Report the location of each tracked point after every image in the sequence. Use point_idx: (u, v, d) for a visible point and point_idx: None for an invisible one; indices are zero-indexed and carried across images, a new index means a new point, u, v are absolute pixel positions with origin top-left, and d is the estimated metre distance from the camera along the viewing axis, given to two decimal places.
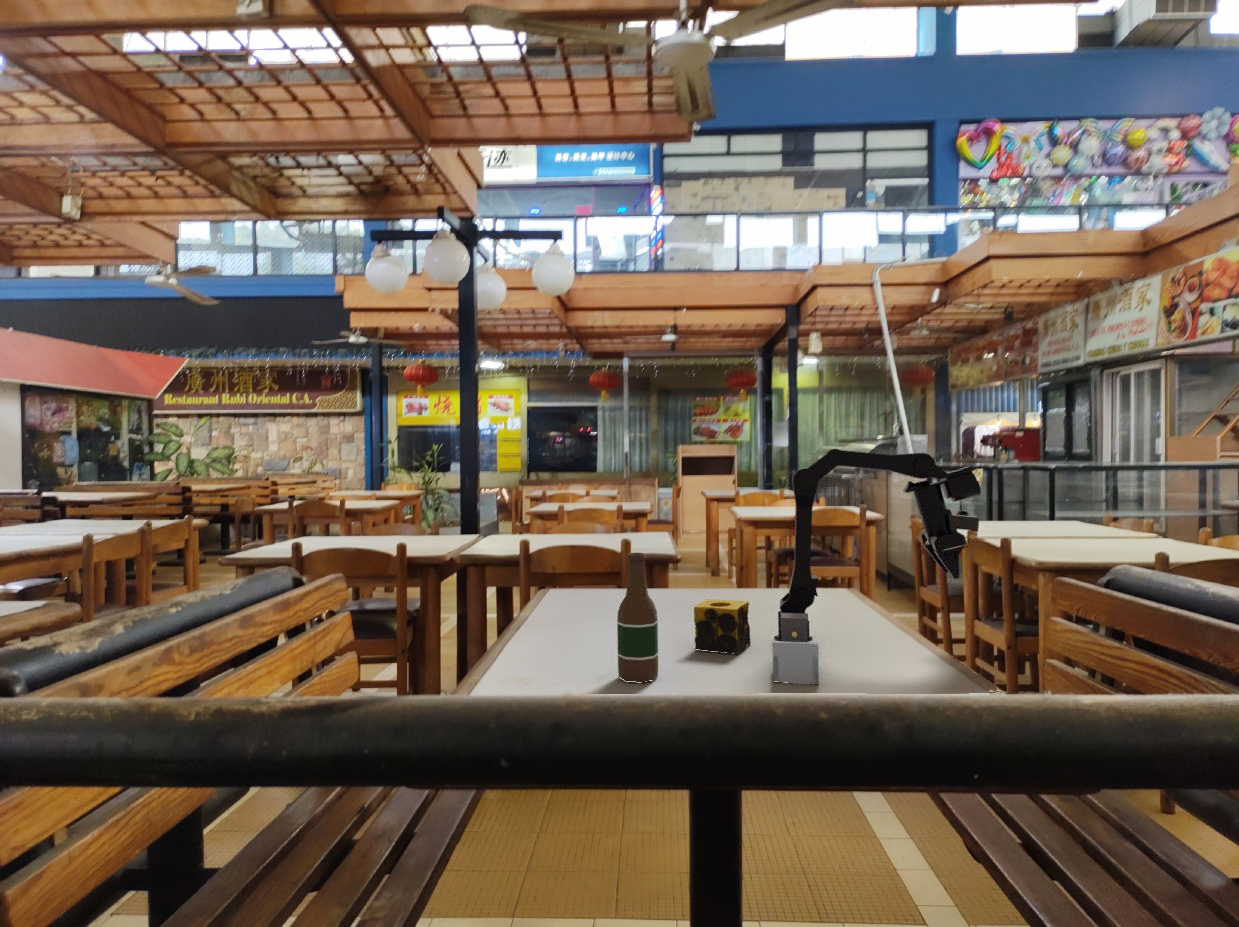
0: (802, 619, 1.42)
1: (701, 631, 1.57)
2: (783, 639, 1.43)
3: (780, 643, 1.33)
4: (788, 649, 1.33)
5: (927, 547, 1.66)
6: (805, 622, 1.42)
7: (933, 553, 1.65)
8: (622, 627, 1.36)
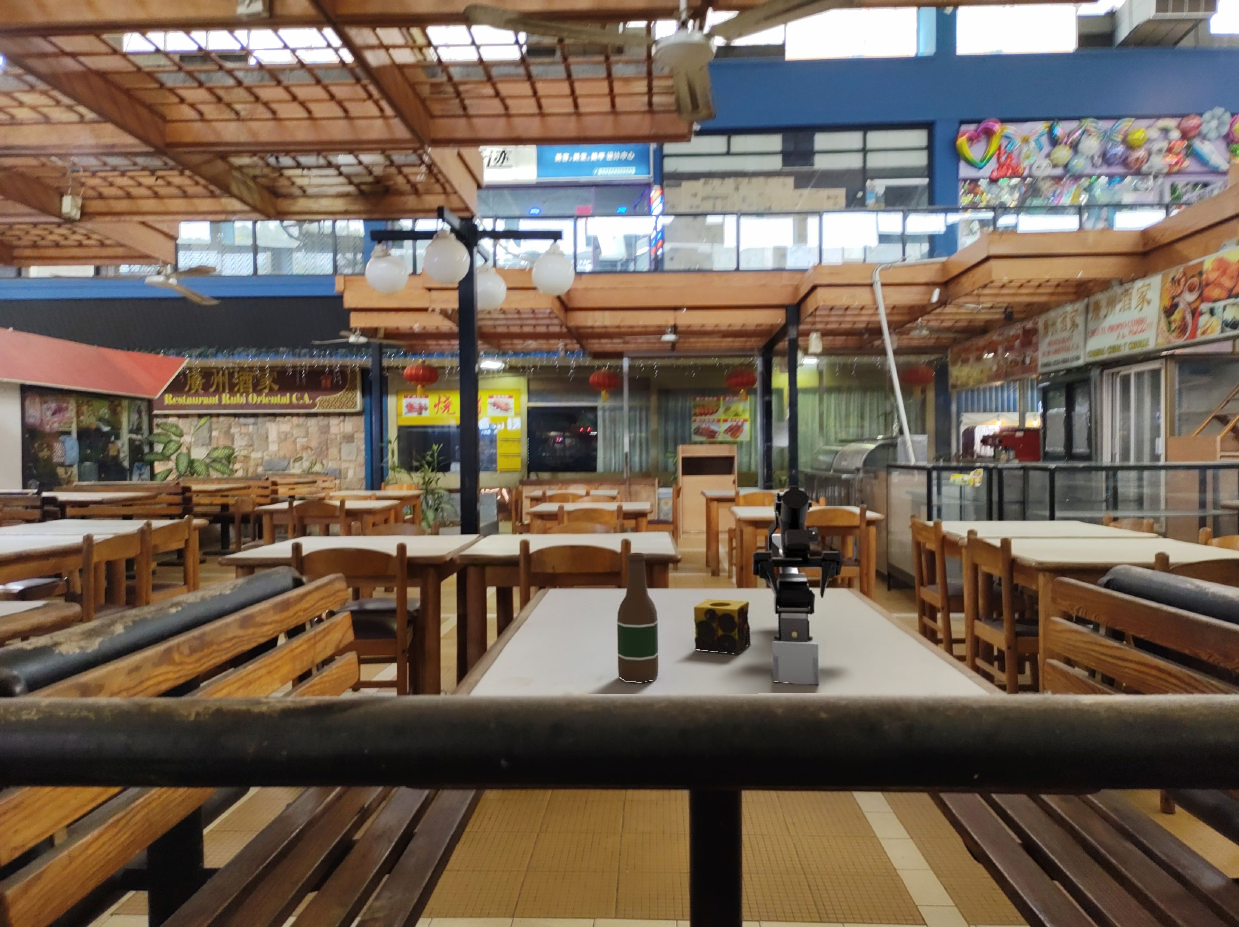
0: (802, 619, 1.42)
1: (701, 631, 1.57)
2: (783, 639, 1.43)
3: (780, 643, 1.33)
4: (788, 649, 1.33)
5: (820, 578, 1.56)
6: (805, 622, 1.42)
7: (820, 582, 1.54)
8: (622, 627, 1.36)
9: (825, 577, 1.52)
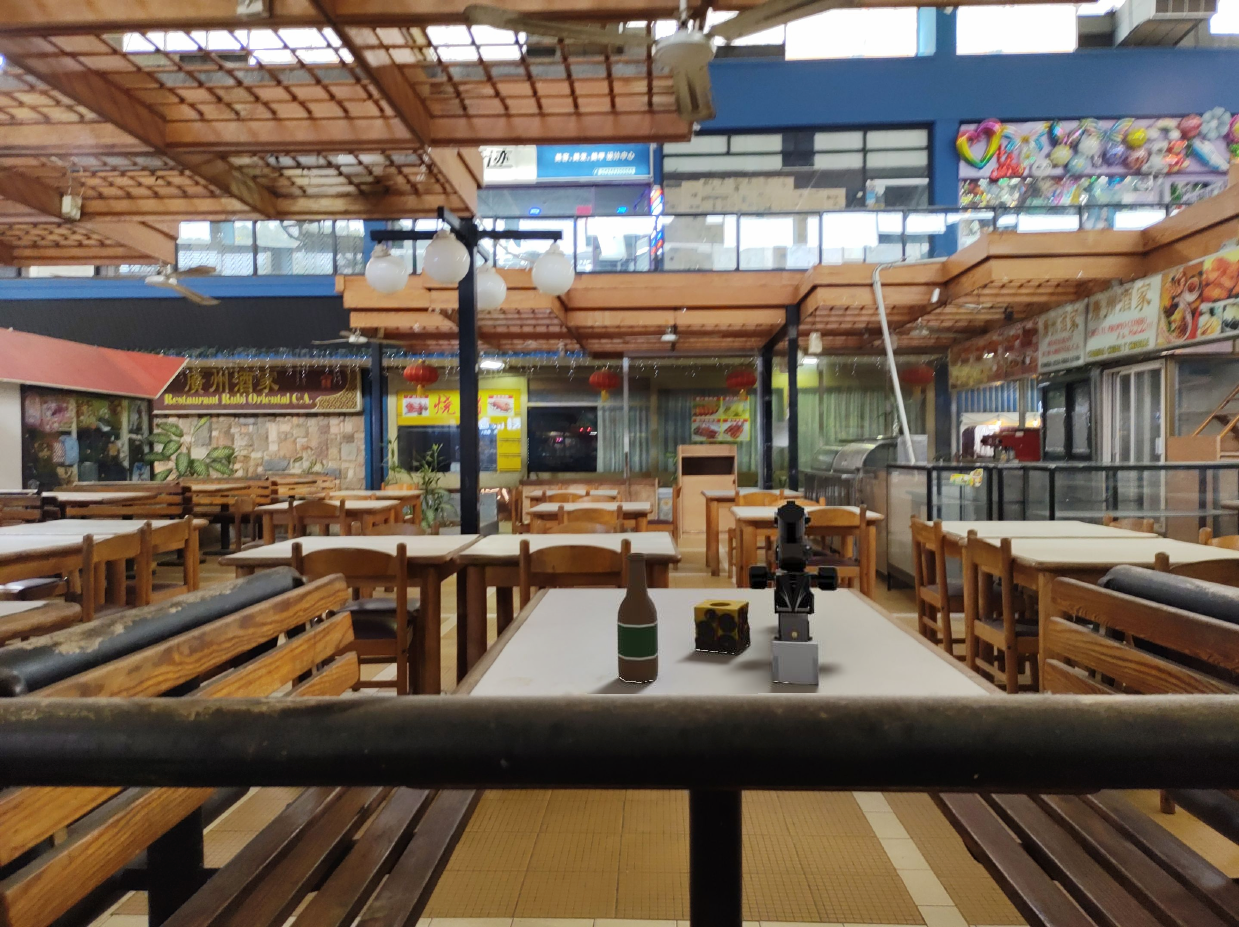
0: (802, 619, 1.42)
1: (701, 631, 1.57)
2: (783, 639, 1.43)
3: (780, 643, 1.33)
4: (788, 649, 1.33)
5: None
6: (805, 622, 1.42)
7: None
8: (622, 627, 1.36)
9: (798, 591, 1.53)
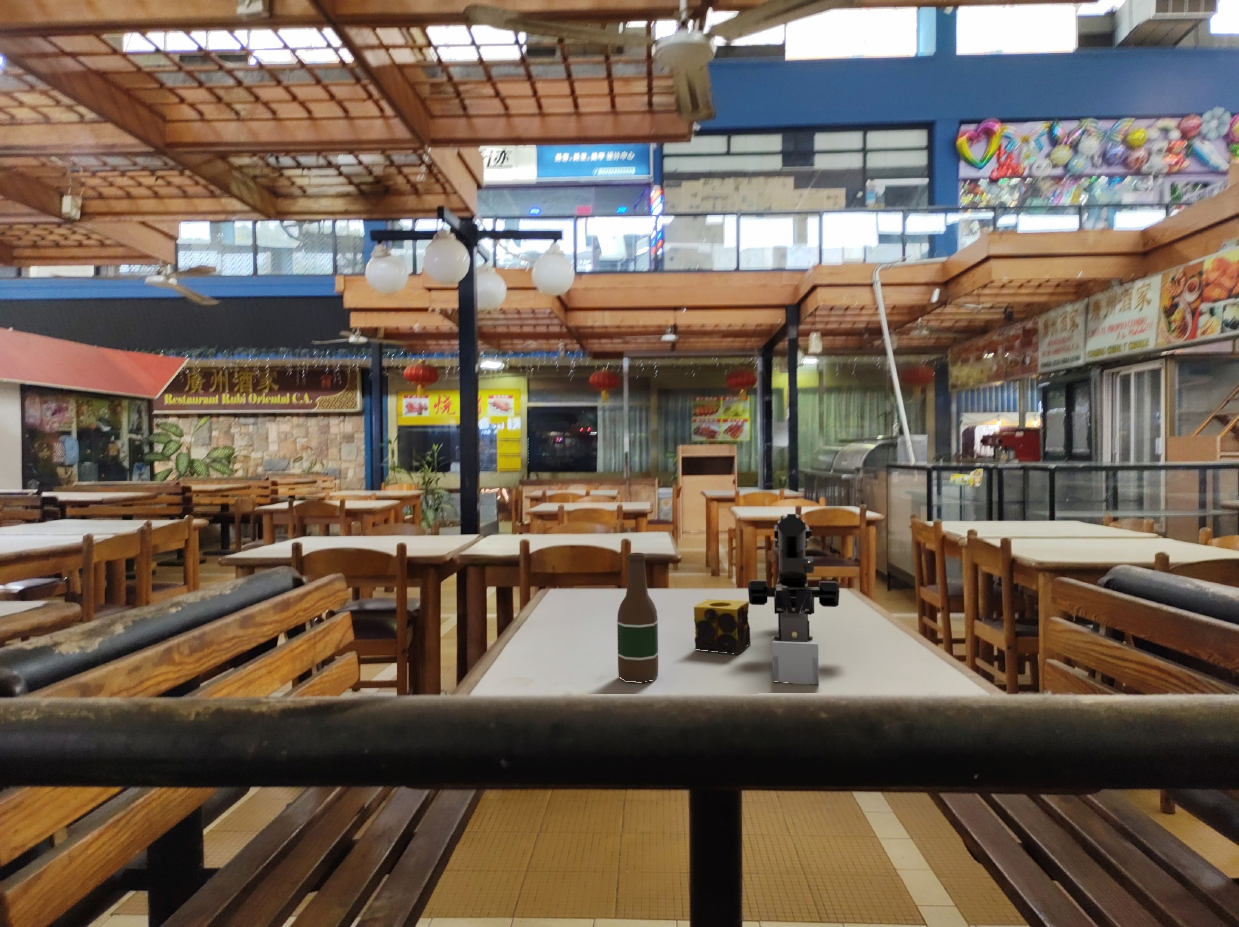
0: (802, 619, 1.42)
1: (701, 631, 1.58)
2: (783, 639, 1.43)
3: (780, 643, 1.33)
4: (788, 649, 1.33)
5: None
6: (805, 622, 1.42)
7: None
8: (622, 627, 1.36)
9: (799, 607, 1.49)
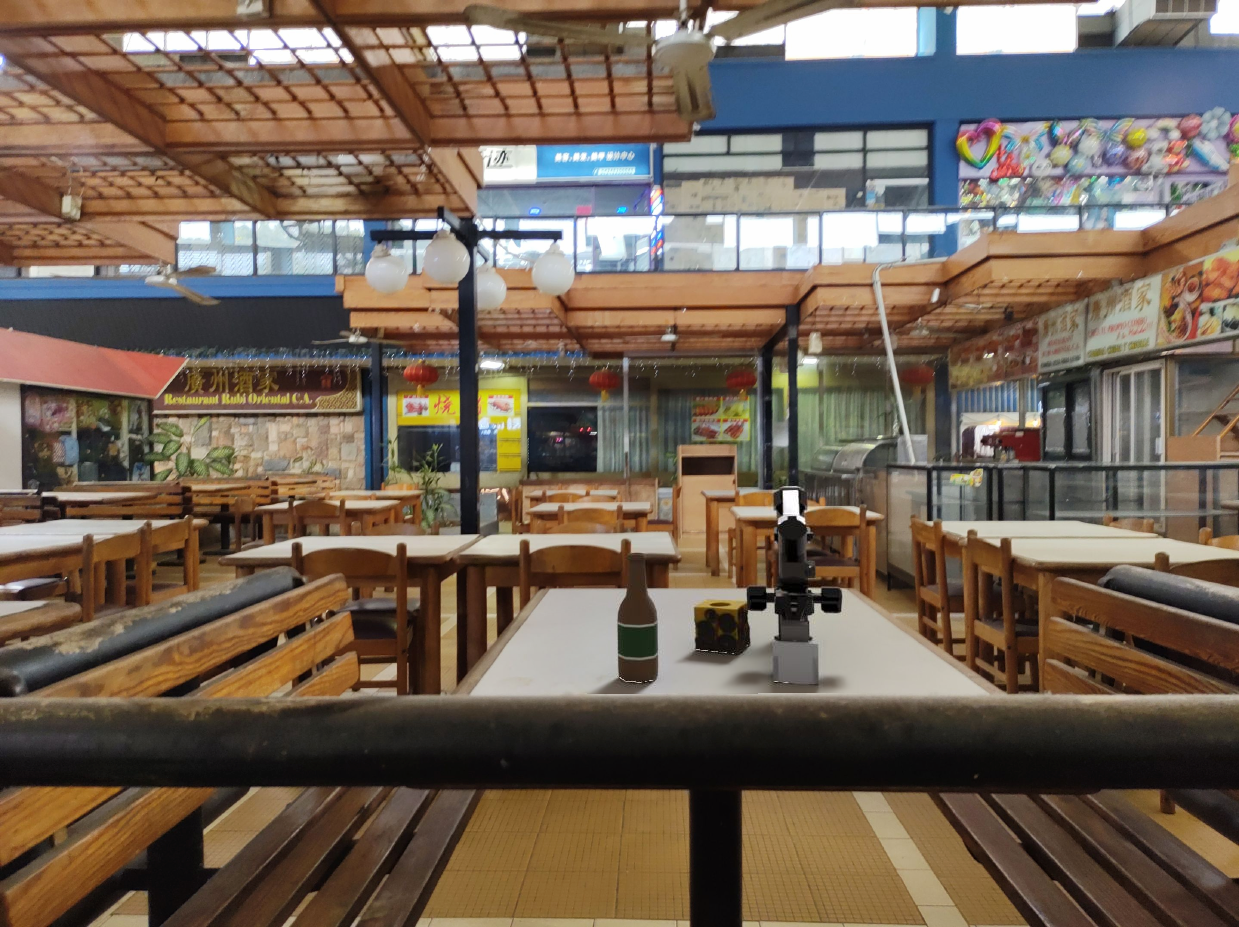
0: (803, 627, 1.35)
1: (701, 631, 1.58)
2: None
3: (780, 643, 1.33)
4: (788, 649, 1.33)
5: None
6: (806, 630, 1.35)
7: None
8: (622, 627, 1.36)
9: (800, 614, 1.42)
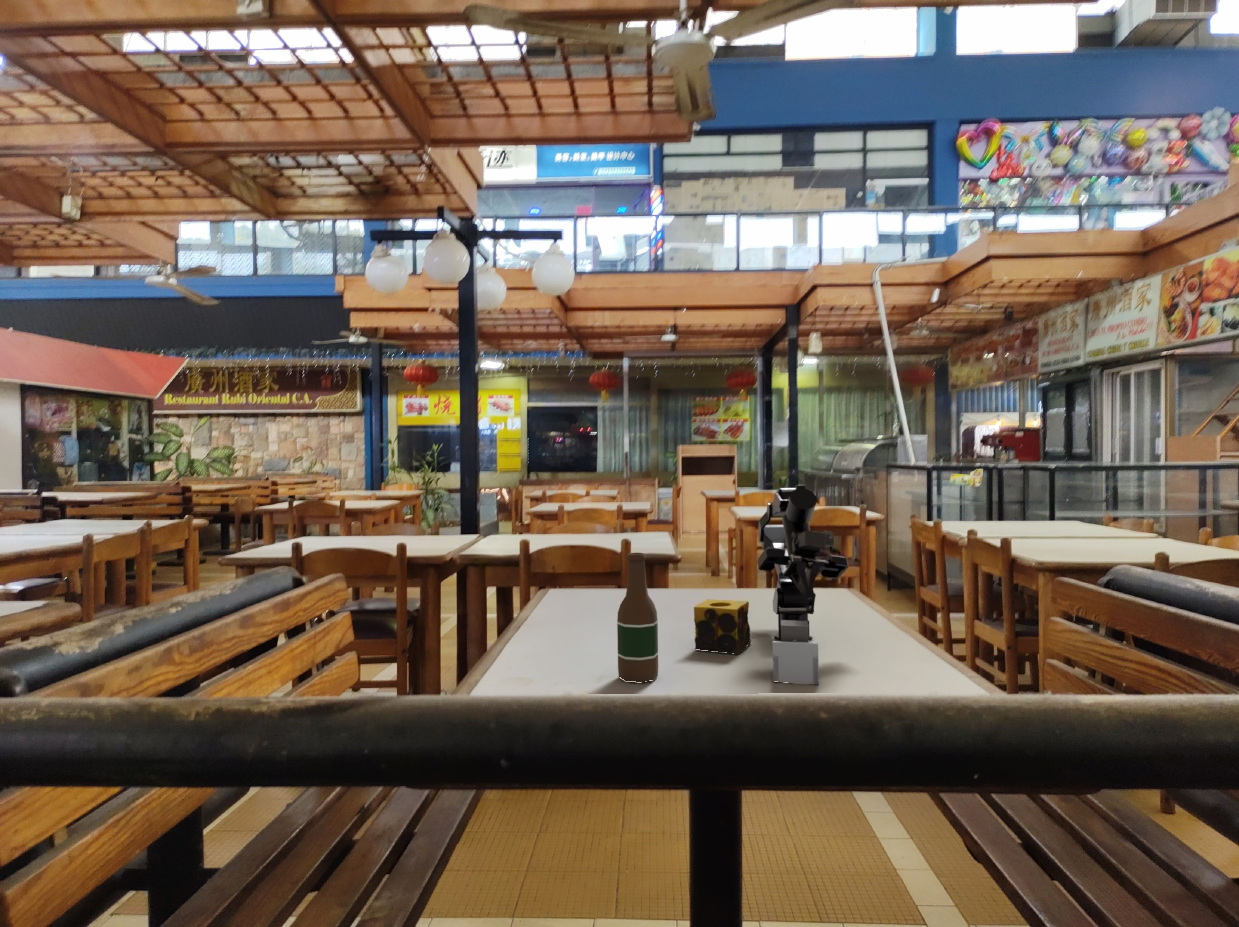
0: (803, 627, 1.35)
1: (701, 631, 1.58)
2: None
3: (780, 643, 1.33)
4: (788, 649, 1.33)
5: None
6: (806, 630, 1.35)
7: None
8: (622, 627, 1.36)
9: (813, 579, 1.52)
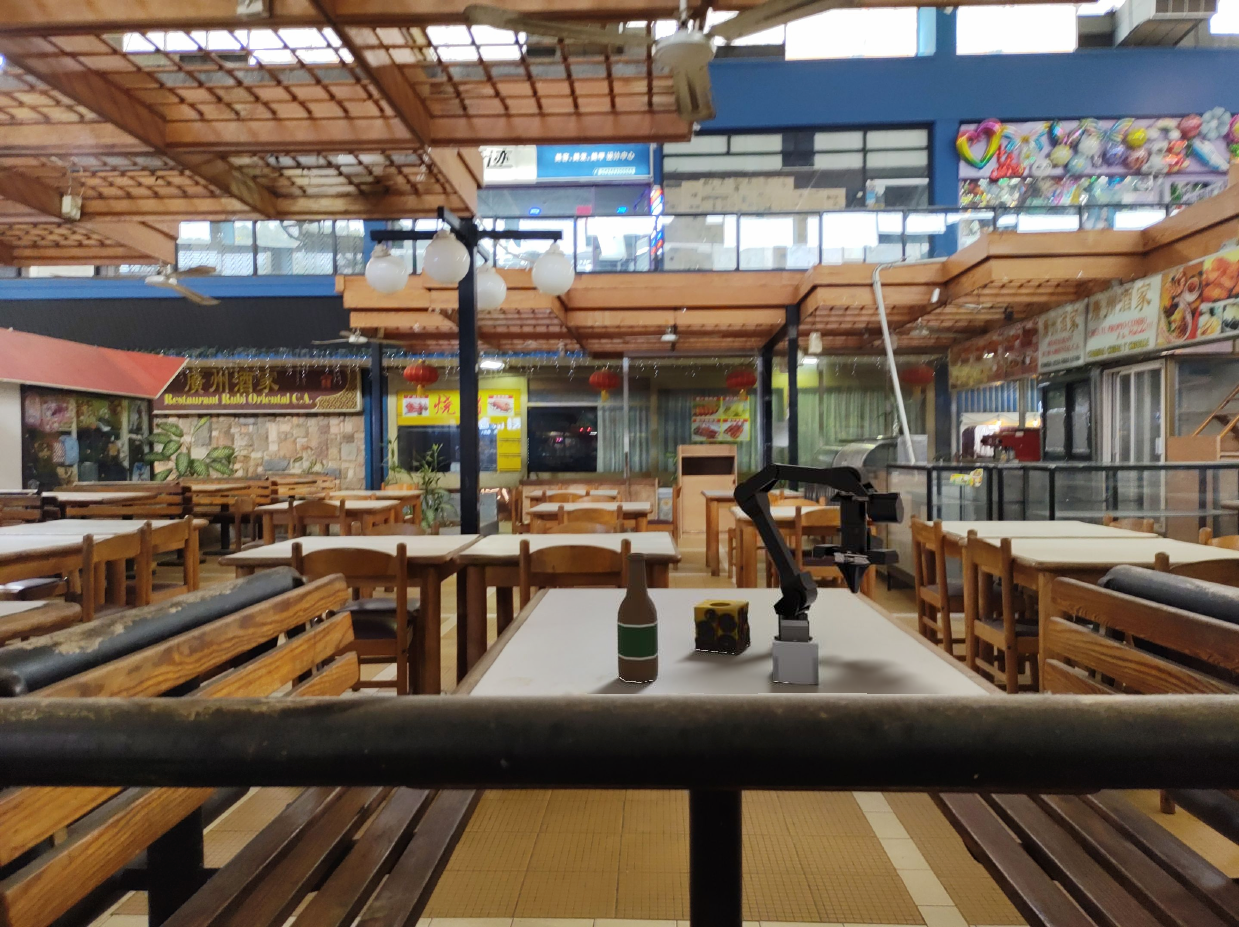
0: (803, 627, 1.35)
1: (701, 631, 1.58)
2: None
3: (780, 643, 1.33)
4: (788, 649, 1.33)
5: (844, 565, 1.58)
6: (806, 630, 1.35)
7: (847, 572, 1.58)
8: (622, 627, 1.36)
9: None
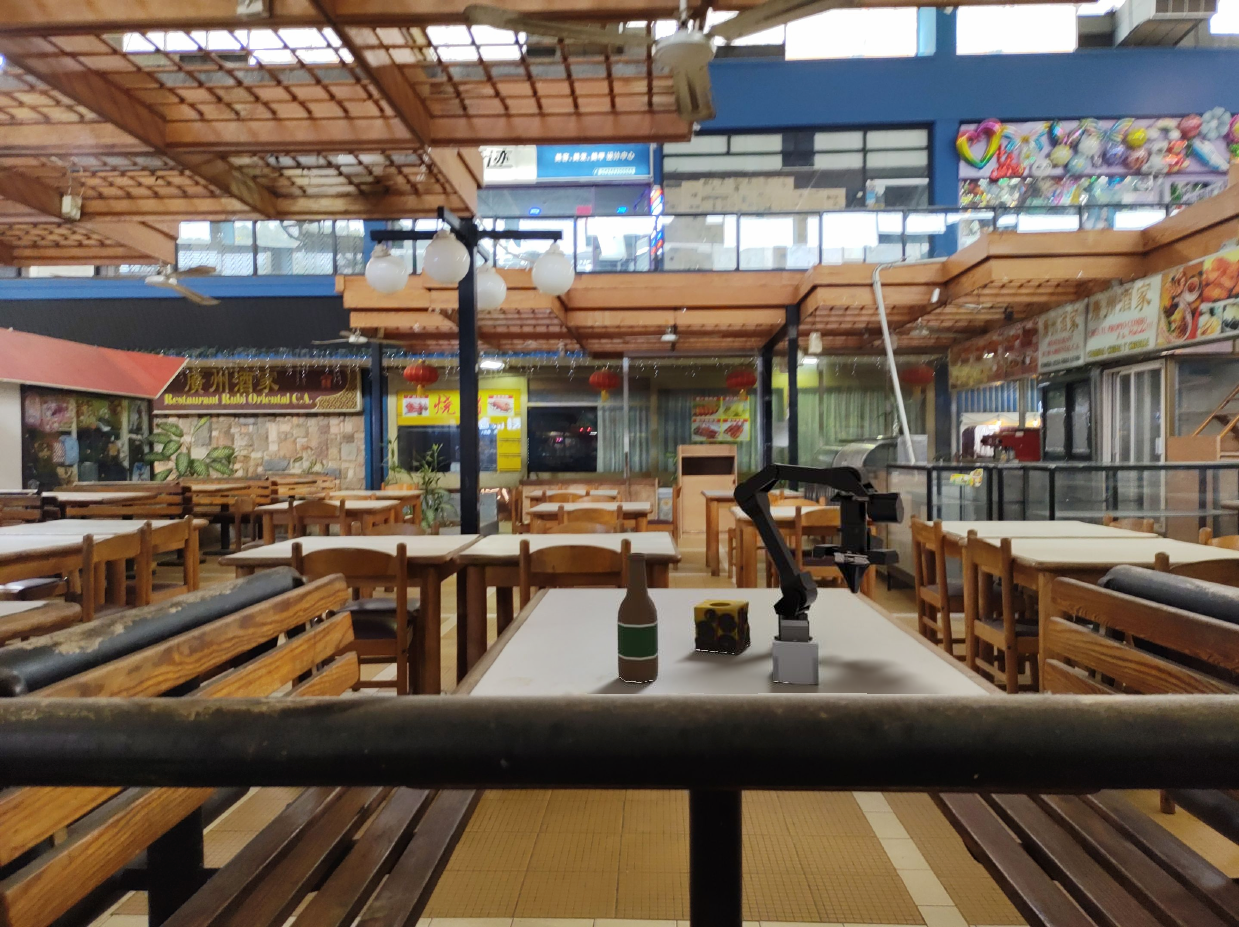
0: (803, 627, 1.35)
1: (701, 631, 1.58)
2: None
3: (780, 643, 1.33)
4: (788, 649, 1.33)
5: (844, 565, 1.58)
6: (806, 630, 1.35)
7: (847, 572, 1.58)
8: (622, 627, 1.36)
9: None
